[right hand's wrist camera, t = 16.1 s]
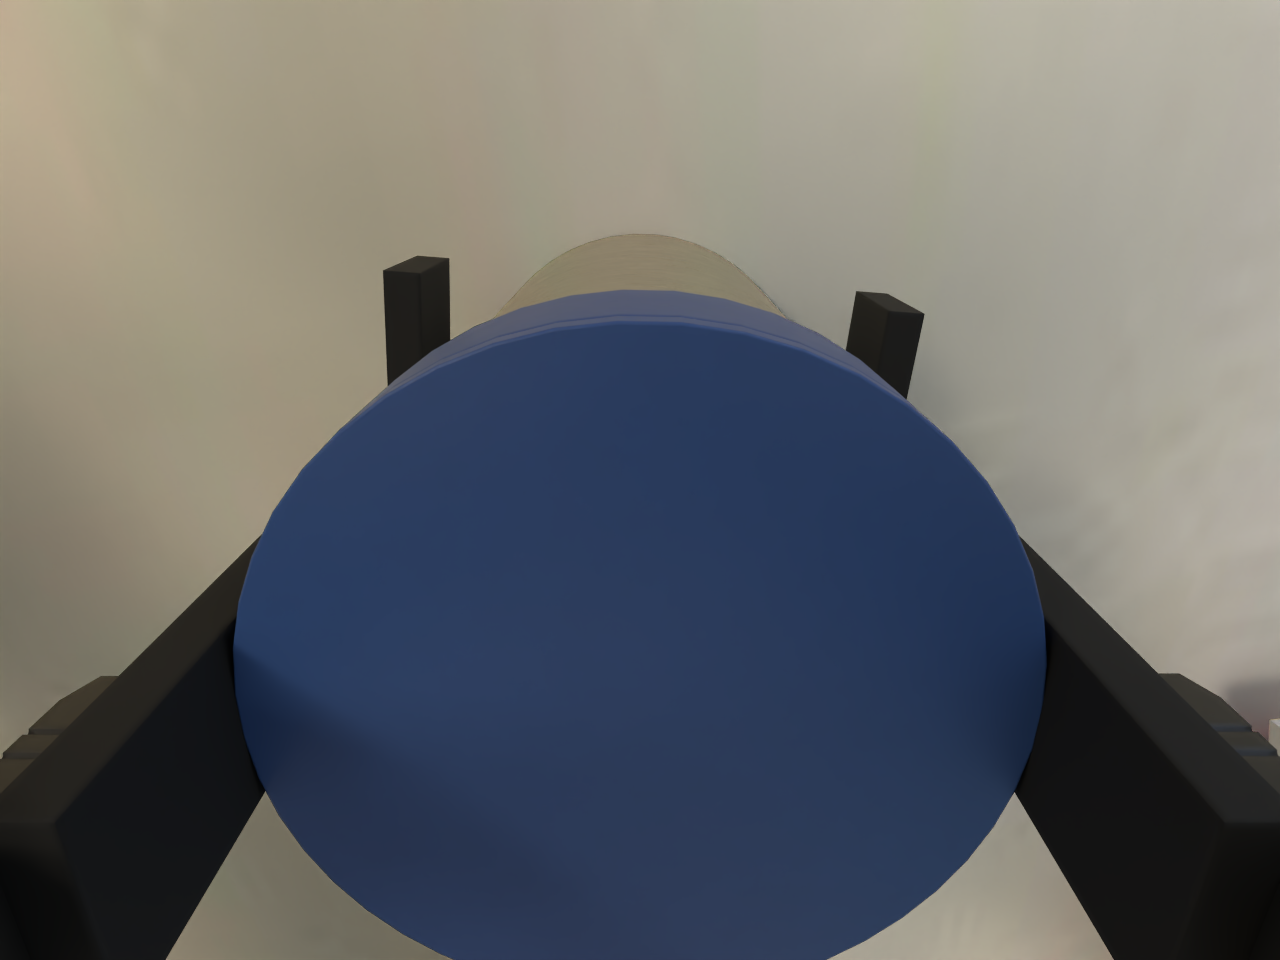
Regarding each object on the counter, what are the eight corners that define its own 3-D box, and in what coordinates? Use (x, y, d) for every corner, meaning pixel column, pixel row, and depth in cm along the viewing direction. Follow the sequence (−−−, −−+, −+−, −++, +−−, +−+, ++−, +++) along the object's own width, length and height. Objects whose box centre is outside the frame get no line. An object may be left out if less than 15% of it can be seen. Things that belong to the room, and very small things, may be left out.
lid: (983, 832, 14) (1044, 953, 12) (411, 908, 15) (372, 1035, 13) (968, 222, 10) (1054, 238, 8) (198, 361, 11) (91, 411, 9)
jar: (808, 507, 27) (1003, 911, 12) (525, 552, 27) (398, 986, 13) (775, 205, 23) (996, 281, 9) (451, 266, 24) (163, 427, 9)
